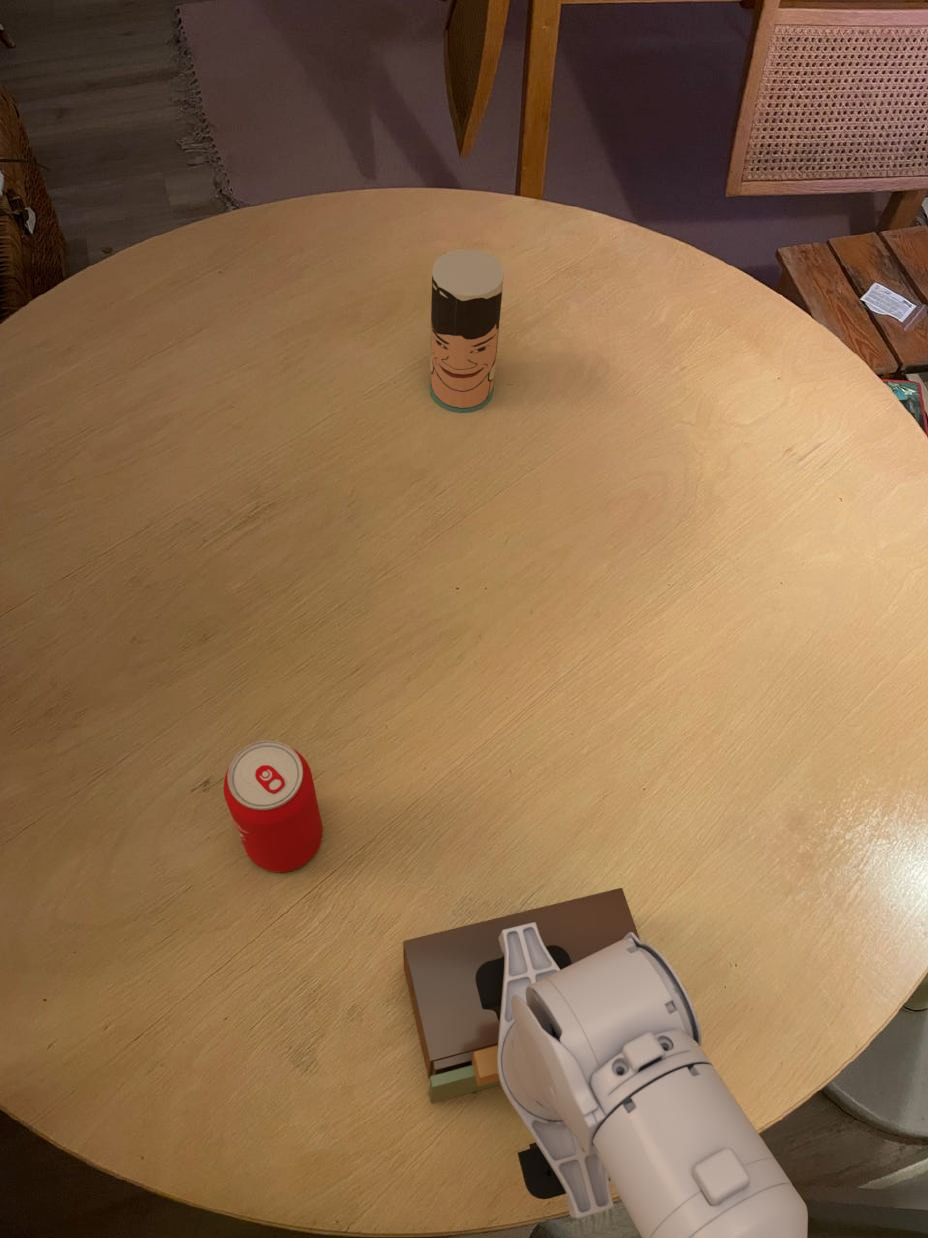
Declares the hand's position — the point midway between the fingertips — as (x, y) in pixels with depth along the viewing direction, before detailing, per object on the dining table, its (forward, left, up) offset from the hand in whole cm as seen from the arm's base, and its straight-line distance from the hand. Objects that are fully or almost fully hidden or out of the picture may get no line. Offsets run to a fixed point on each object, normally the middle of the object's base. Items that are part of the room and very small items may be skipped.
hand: (531, 1076), depth 63 cm
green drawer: (+2, +2, -10) cm, 10 cm away
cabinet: (+7, -2, -11) cm, 13 cm away
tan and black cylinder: (+68, -13, -11) cm, 70 cm away
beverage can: (+23, +13, -11) cm, 28 cm away
